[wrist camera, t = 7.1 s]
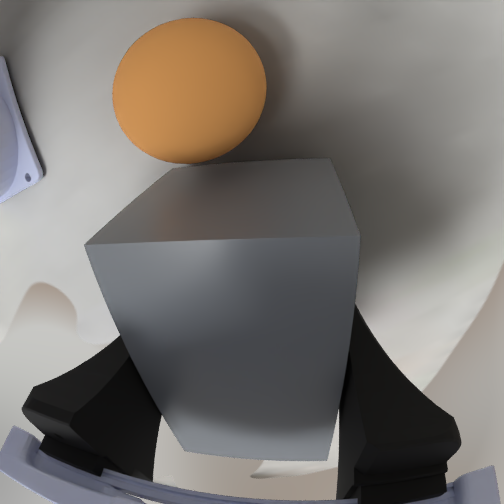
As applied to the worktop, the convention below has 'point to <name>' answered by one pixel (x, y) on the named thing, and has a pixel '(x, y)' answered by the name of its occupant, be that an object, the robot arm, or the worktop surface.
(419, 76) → the worktop surface
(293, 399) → the gray rectangular block
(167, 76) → the ball
